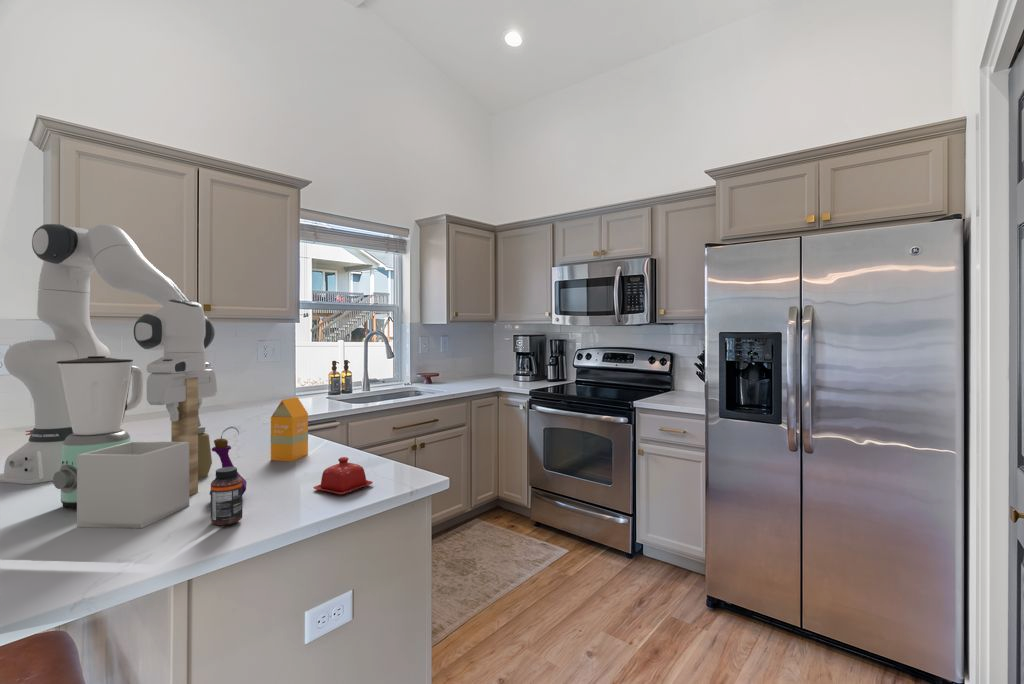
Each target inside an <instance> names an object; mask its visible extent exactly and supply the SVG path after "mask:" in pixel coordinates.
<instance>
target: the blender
mask: <svg viewBox="0 0 1024 684" xmlns="http://www.w3.org/2000/svg"><path fill="white" fill-rule="evenodd" d="M105 357H106V356H88V358H81V359H75V360H66V361H58V362H57V364H58V365H59V368H60V371H61V376H62V382H63V387H64V392H65V397H66V402H67V407H68V412H69V416H70V421H71V426H72V430H73V434H70V435H69V436H68V437H66V439H65V441H64V442H63V444H62V449H61V468H60V471H58V472H56V473H55V474H54V476H53V481H52V483H53V485H54V488H56V489H57V490H60V502H61V504H62V508H77V455H79V454H83V453H87V452H91V451H95V450H99V449H103V448H107V447H111V446H115V445H119V444H123V443H127V442H131V441H132V438H131V435H130V434H129V432H128V431H126V430H125V429H122V425H123V422H124V418H125V414H126V411H132V410H133V409H136V408H137V407H138V406H139V405H140V404H141V402H142V401H143V395H144V373H143V370H142V368H140V367H138V366H135V365H133V362H134V360H133V359H126V358H124V359H123V358H113V357H111V358H105ZM131 380H132V381H131ZM130 383H132V384H130ZM130 385H132V386H131V397H130V400H129V402H128V399H129V398H128V396H129V391H130Z"/></svg>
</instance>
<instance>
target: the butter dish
mask: <svg viewBox="0 0 1024 684" xmlns="http://www.w3.org/2000/svg"><path fill="white" fill-rule="evenodd" d="M337 459H338V462H339V463H336V464H333V465H331V466H329V467H326V468H325V469H324V470H323V471H322V473H321V474H322V475H321V481H320V484H318V485H315V486H313V489H314V490H318V491H322V492H323V491H324V492H329V493H332V494H336V495H341V494H343V495H345V493H346V494H349V493H351V492H350V491H352V492H354V491H353V490H355V491H357V490H360V489H362V487H363V488H364V487H367V486H370V485H372V484H373V481H371V480H367V476H366V473H365V472H366V471H365V469H364V468H363V466H361V465H360V464H358V463H353V462H348V461H349V457H347V456H342V457H340V458H337ZM359 488H360V489H359ZM356 489H357V490H356ZM348 492H349V493H348Z"/></svg>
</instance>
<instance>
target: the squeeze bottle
mask: <svg viewBox="0 0 1024 684" xmlns="http://www.w3.org/2000/svg"><path fill="white" fill-rule="evenodd" d="M212 465H213V459H212V448H211V441H210V434H208V433H207V432H206V425H202V424H201V421H200V416H199V415H198V480H200V479H203V478H207V477H208V476H209V473H210V470H211V467H212Z"/></svg>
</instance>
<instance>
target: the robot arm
mask: <svg viewBox="0 0 1024 684" xmlns="http://www.w3.org/2000/svg"><path fill="white" fill-rule="evenodd" d="M31 238H32V239H31V248H32V250H33V251H32V252H34V253H35V256H36V257H37V258H38V259H40V260H42V261H43V263H42V267H41V270H40V274H39V281H38V288H37V290H38V291H37V305H36V306H37V310H36V311H37V312H36V315H37V317H38V320H40V321H41V322H42V323H44V324H45V325H48V326H49V327H50V328H51V330H52V332H53V333H54V338H55V339H31V340H27V341H22V342H17V343H14V344H11V346H9V348H8V349H7V350H6V351H5V354H4V356H3V364H4V367H5V369H6V371H7V372H8V373H9V374H10V375H11V376H13V377H14V378H16V379H18V380H19V381H20V382H22V383H23V384H24V385H25V387H26V388H27V389H28V391H29V393H30V395H31V397H32V402H33V407H34V410H33V411H34V427H33V429H31V430H25V433H26V434H25V436H29V438H28V440H27V441H28V442H26V443H25V444H24V445H21V447H20V448H18V449H17V450H15V451H13V453H10V455H8V456H7V458H6V459H5V461H4V469H3V472H2V473H0V483H1V482H4V483H11V484H13V483H14V484H21V485H33V484H40V483H45V482H53V476H54V474H55V473H56V472H58V471H60V468H61V449H62V444H63V442H64V441H65V439H66V437H68V436H69V435H70V434H73V430H72V426H71V421H70V416H69V412H68V407H67V402H66V397H65V392H64V387H63V382H62V376H61V371H60V368H59V365H58V364H57V362H58V361H66V360H75V359H81V358H88V356H106V357H105V358H112V357H111V351H110V350H109V348H108V347H107V345H106V344H104V343H103V342H101V341H100V340H99V338H98V337H97V335H96V333H95V332H94V329H93V327H92V322H91V316H90V315H91V314H90V313H91V312H90V302H91V300H90V299H91V276H92V275H93V274H94V272H96V271H97V274H98V275H99V277H101V279H102V280H103V281H104V282H105V283H107V285H109V286H110V287H112V288H113V289H116V290H120V291H123V292H126V293H131V294H135V295H139V296H143V297H146V298H148V299H151V300H153V301H155V302H157V303H158V304H160V305H161V306H162V307H161V308H159V309H157V310H155V311H152V312H150V313H144V314H143V315H141V316H140V317H139V318H137V320H136V321H135V324H134V326H133V338H134V340H135V342H136V343H137V344H138V346H140V348H143V349H144V350H149V351H163V356H162V357H159V358H157V359H156V360H154V361H152V362H150V363H148V364H147V365H146V372H147V373H148V374H149V375H148V377H147V378H146V401H147V402H148V404H149V405H150V406H164V405H165V406H166V407H165V408H166V410H167V411H168V413H169V419H170V421H179V420H181V413H179V412H178V409H177V407H178V406H179V402H184V401H186V386H185V379H186V378H194V377H198V416H199V415H200V412H199V411H200V409H201V406H202V404H203V399H206V398H213V397H215V396H216V394H217V391H218V389H217V387H218V386H217V376H216V373H215V372H216V371H215V370H214V367H213V366H212V365H211V363H210V362H206V349H207V348H208V347H210V345H211V344H212V342H213V341H214V339H215V334H216V332H215V331H216V330H215V327H214V325H213V323H212V322H211V320H210V319H209V318H208V316H206V315H205V312H204V311H205V310H204V308H203V306H202V304H200V302H197V301H194V300H189V298H188V297H187V296H186V295H185V294H184V293H183V292H182V290H181V289H180V288H179V287H178V286H177V284H175V282H174V281H173V280H172V279H171V278H170V277H169V276H167V275H166V274H164V273H163V272H161V271H160V270H159V269H158V268H156V267H155V266H154V265H153V264H152V263H151V262H150V261H149V259H147V258H146V256H144V254H143V253H142V251H141V250H140V248H139V246H138V245H137V244H136V243H135V241H134V240H133V239H132V238H131V237H130V236H129V235H128V233H127V232H126V231H124V230H123V229H122V228H121V227H119V226H117V225H114V224H109V223H102V224H97V225H94V226H93V227H91V228H83V227H76V226H69V225H68V226H67V225H63V224H58V223H57V224H56V223H49V224H47V223H46V224H43V225H40V226H39V227H38V228H36V229H35V231H34V233H33V234H32V237H31Z"/></svg>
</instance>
